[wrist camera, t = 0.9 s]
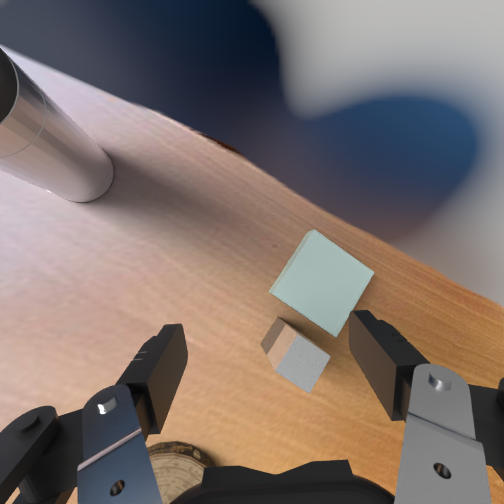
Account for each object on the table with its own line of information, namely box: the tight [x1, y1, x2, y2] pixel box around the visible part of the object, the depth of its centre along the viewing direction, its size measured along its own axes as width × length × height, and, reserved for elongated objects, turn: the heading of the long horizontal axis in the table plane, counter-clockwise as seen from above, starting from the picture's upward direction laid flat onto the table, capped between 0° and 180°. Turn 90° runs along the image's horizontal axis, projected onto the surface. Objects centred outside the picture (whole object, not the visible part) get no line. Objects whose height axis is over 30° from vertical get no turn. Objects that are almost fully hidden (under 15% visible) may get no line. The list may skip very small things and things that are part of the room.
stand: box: [269, 229, 374, 337], centre depth 38 cm, size 12×12×3 cm
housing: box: [261, 317, 331, 393], centre depth 33 cm, size 5×5×10 cm
